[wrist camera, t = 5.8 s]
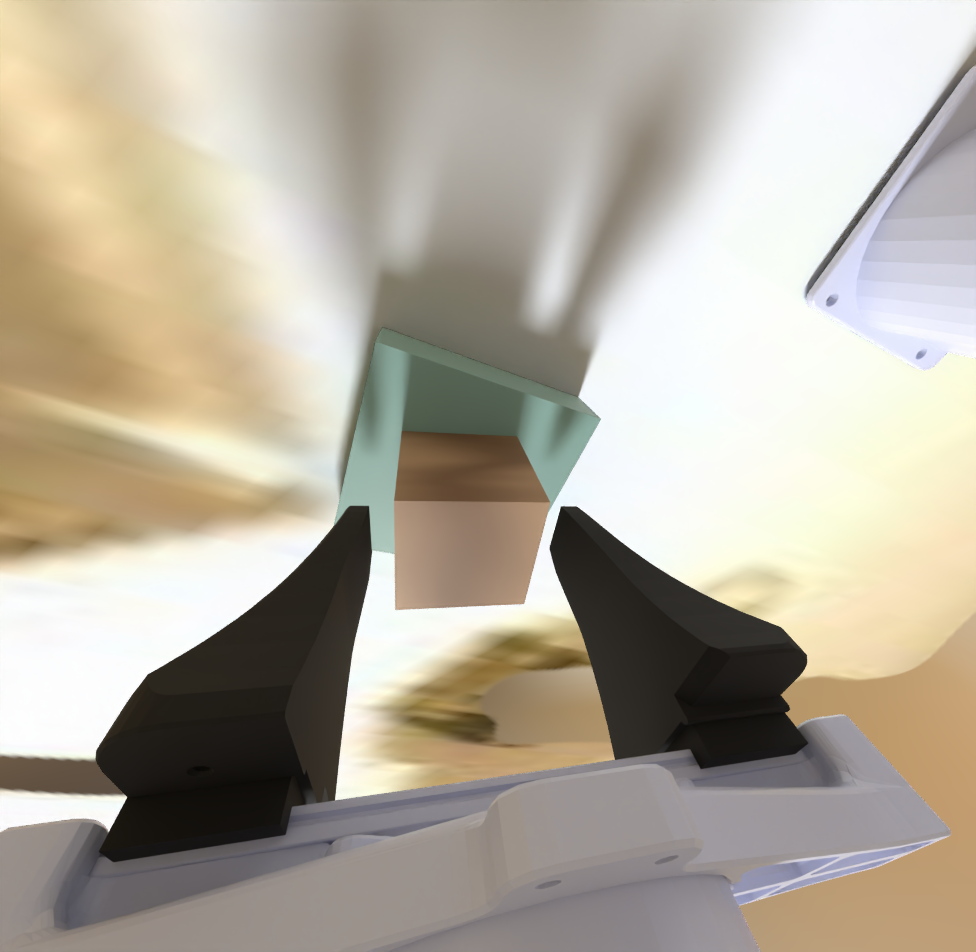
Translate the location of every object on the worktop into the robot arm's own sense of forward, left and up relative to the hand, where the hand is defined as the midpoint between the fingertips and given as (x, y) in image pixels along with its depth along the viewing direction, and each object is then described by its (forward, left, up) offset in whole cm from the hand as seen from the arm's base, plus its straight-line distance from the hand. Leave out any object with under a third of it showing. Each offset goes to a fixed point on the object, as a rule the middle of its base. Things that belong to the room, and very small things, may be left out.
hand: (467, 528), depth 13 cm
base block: (0, 0, -6) cm, 6 cm away
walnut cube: (0, 0, -3) cm, 3 cm away
